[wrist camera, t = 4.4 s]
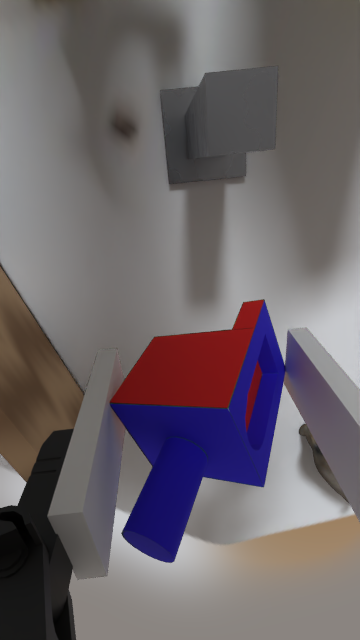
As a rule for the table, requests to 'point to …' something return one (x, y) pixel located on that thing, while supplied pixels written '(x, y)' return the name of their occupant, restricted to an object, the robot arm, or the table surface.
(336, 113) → the table surface
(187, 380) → the toy building block
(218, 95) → the post
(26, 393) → the gate
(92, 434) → the robot arm
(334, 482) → the rhino figurine
